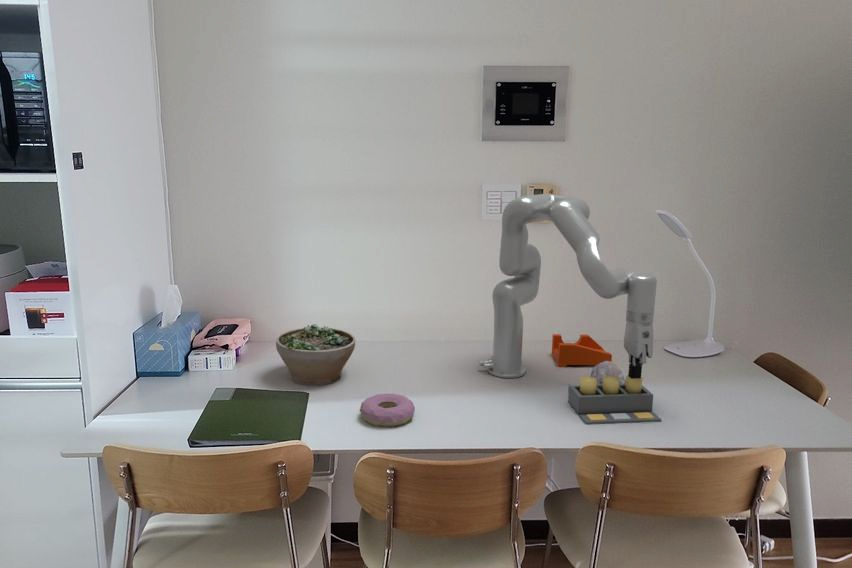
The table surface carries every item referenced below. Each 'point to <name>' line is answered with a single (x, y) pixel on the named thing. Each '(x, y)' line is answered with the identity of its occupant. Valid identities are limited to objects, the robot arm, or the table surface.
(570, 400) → the grey compartment tray
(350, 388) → the table surface
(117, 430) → the table surface
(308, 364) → the planter
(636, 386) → the button right
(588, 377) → the button left
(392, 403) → the donut
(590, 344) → the tape dispenser
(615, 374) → the stone
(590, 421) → the strip
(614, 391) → the button mid
